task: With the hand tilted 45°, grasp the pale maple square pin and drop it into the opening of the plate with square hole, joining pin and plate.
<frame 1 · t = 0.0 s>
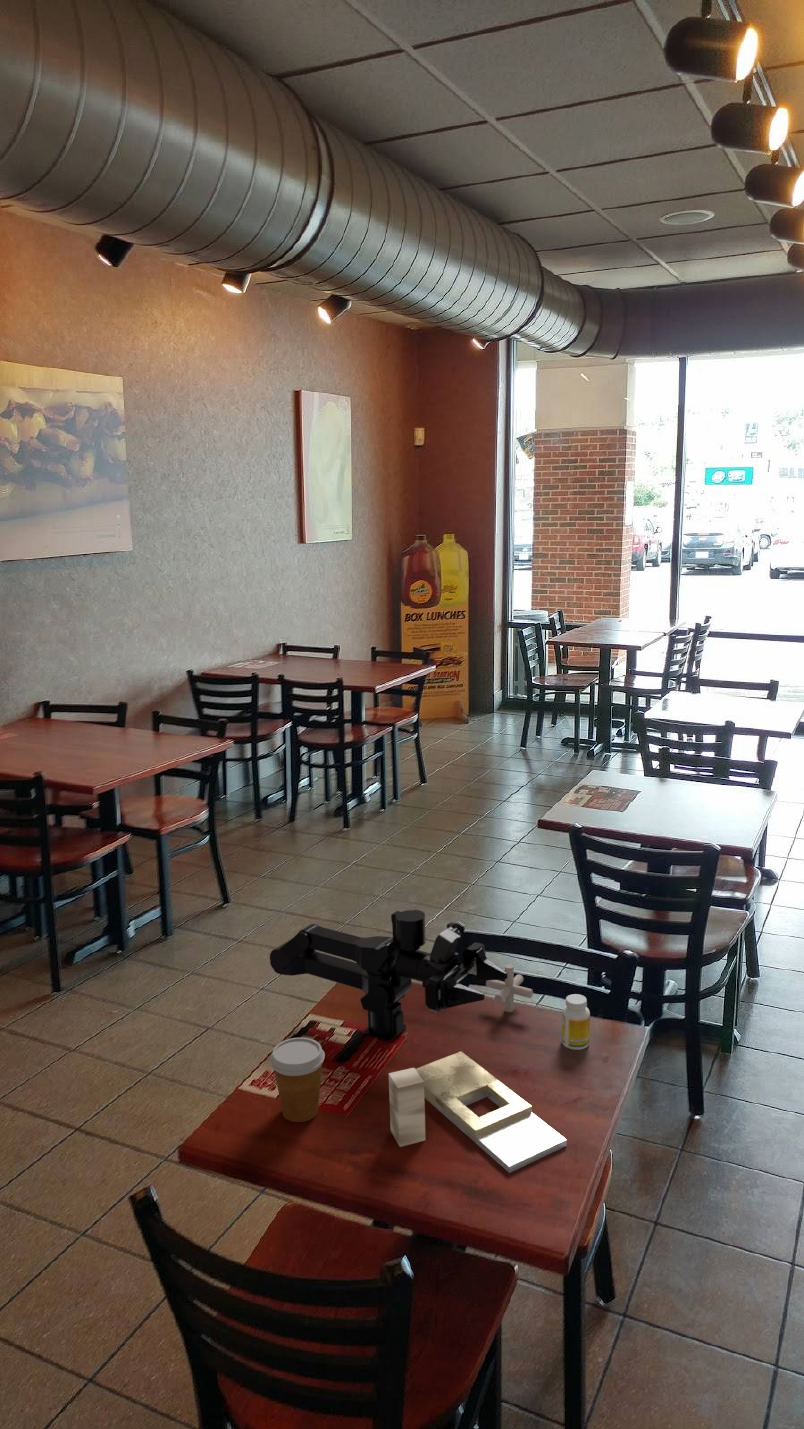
hand: (495, 986, 184), 17 cm above the table, tool horizontal, fingers open, 9 cm apart
pipe connector: (509, 1010, 208), on the table
disposable coffee cup: (300, 1112, 176), on the table
maple pin: (407, 1135, 168), on the table
plate with square hole: (483, 1112, 174), on the table
supplement bottle: (575, 1044, 195), on the table
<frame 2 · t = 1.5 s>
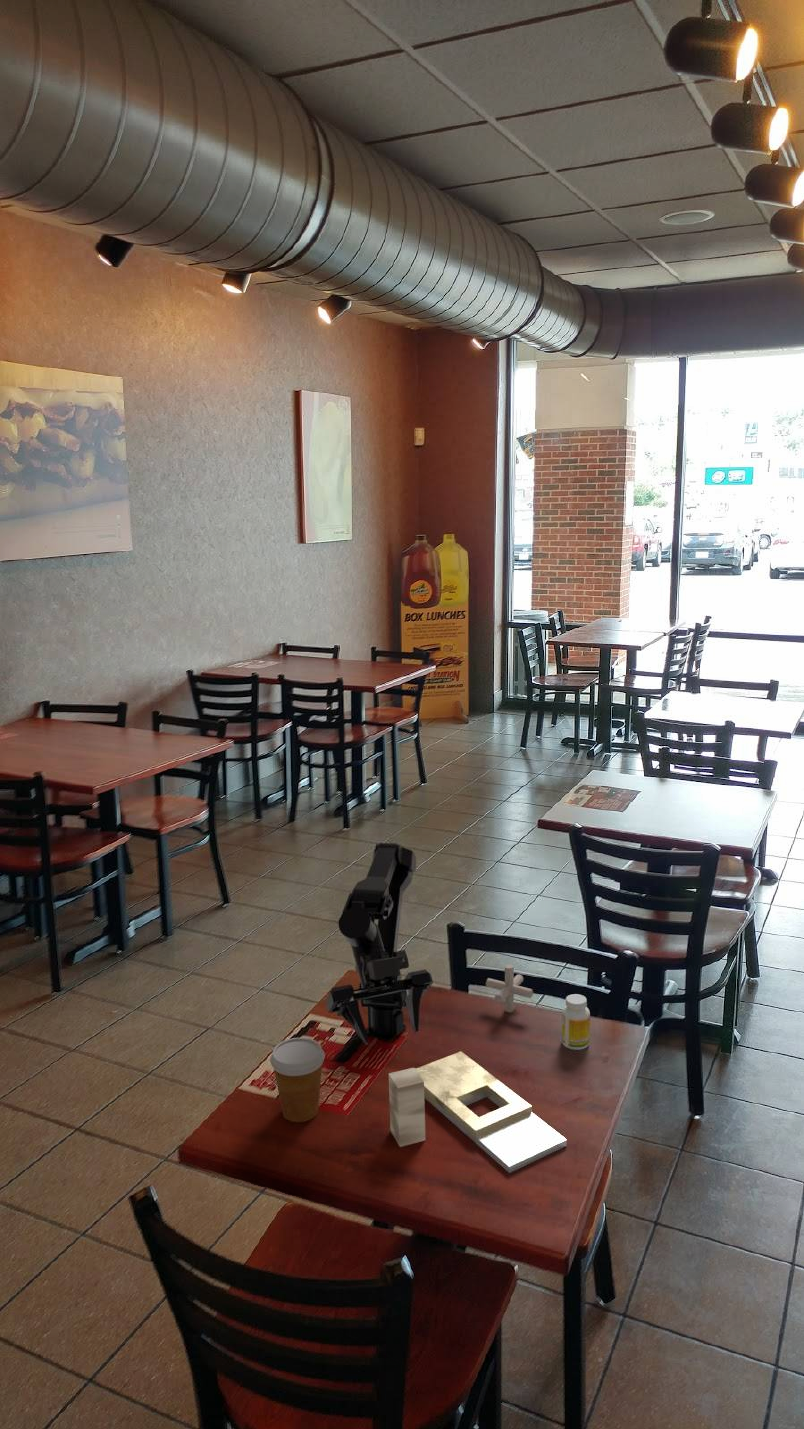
hand: (392, 1038, 173), 14 cm above the table, tool tilted 45°, fingers open, 9 cm apart
nothing on the table moved.
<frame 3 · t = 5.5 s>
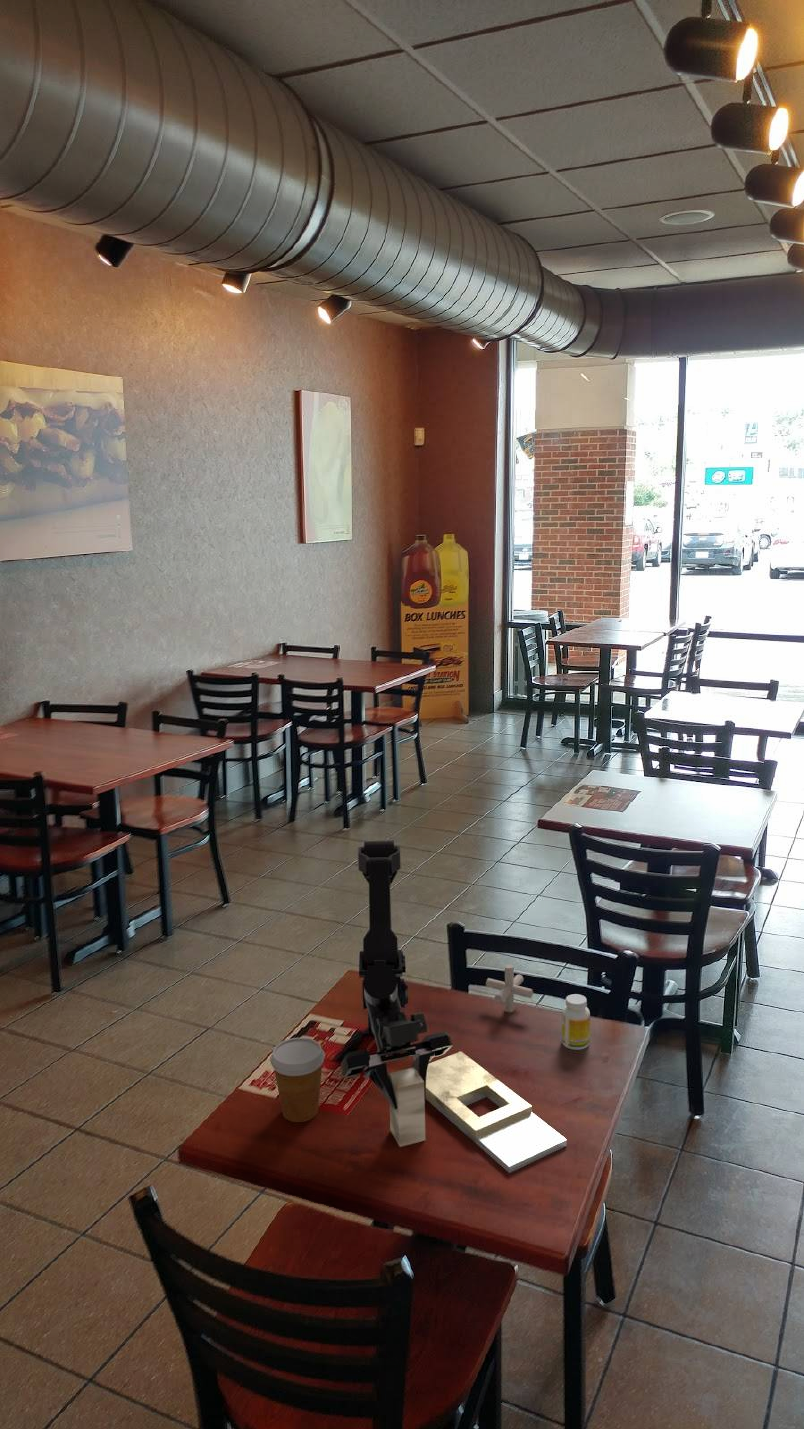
hand: (409, 1105, 165), 7 cm above the table, tool tilted 45°, fingers closed on maple pin, 5 cm apart
maple pin: (407, 1135, 168), on the table, touching gripper
everything else where it was.
when the fingers open (8 cm above the table, at t = 12.4 s): maple pin drops 1 cm, resting in plate with square hole.
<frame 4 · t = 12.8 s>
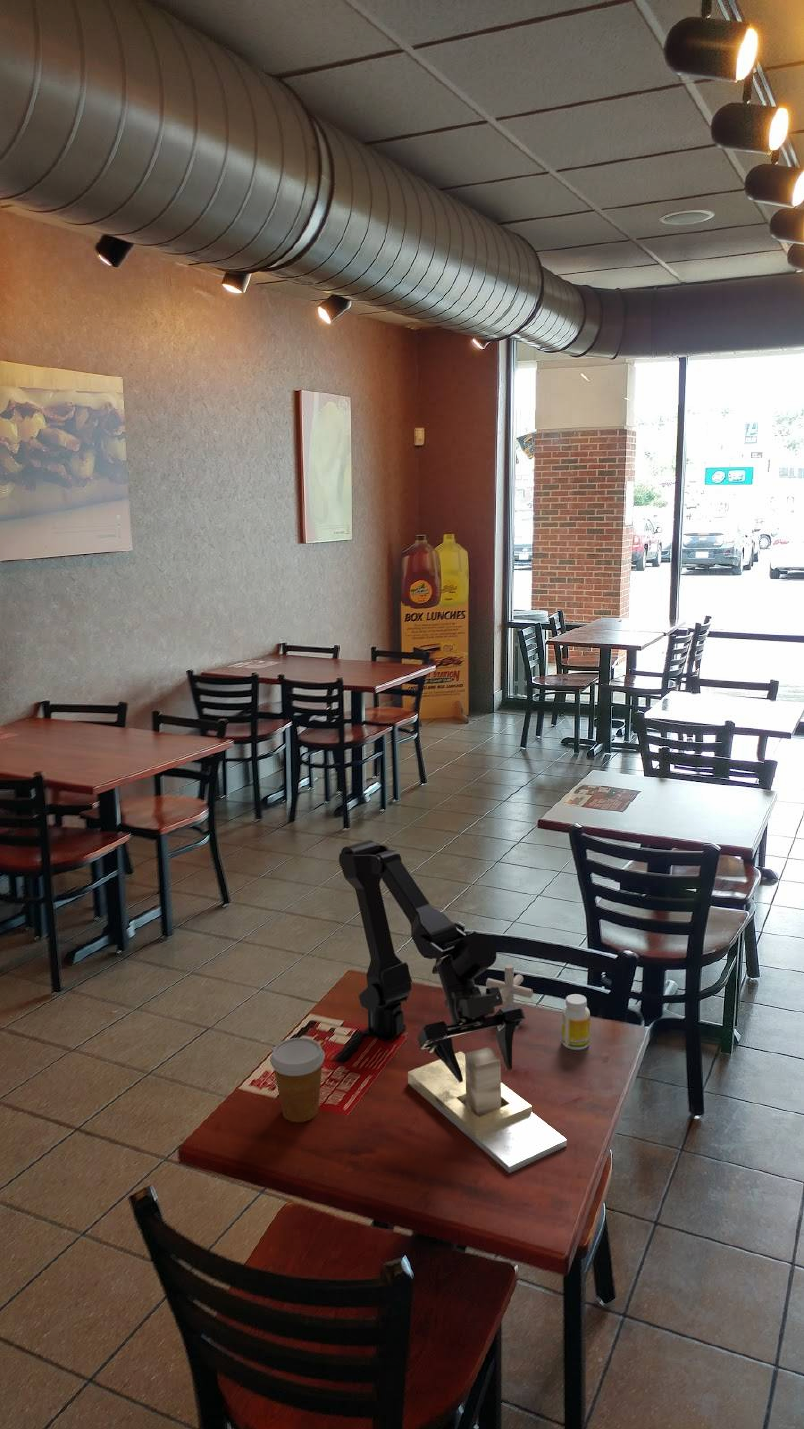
hand: (486, 1075, 171), 8 cm above the table, tool tilted 45°, fingers open, 9 cm apart
maple pin: (483, 1113, 174), resting in plate with square hole
everything else where it was.
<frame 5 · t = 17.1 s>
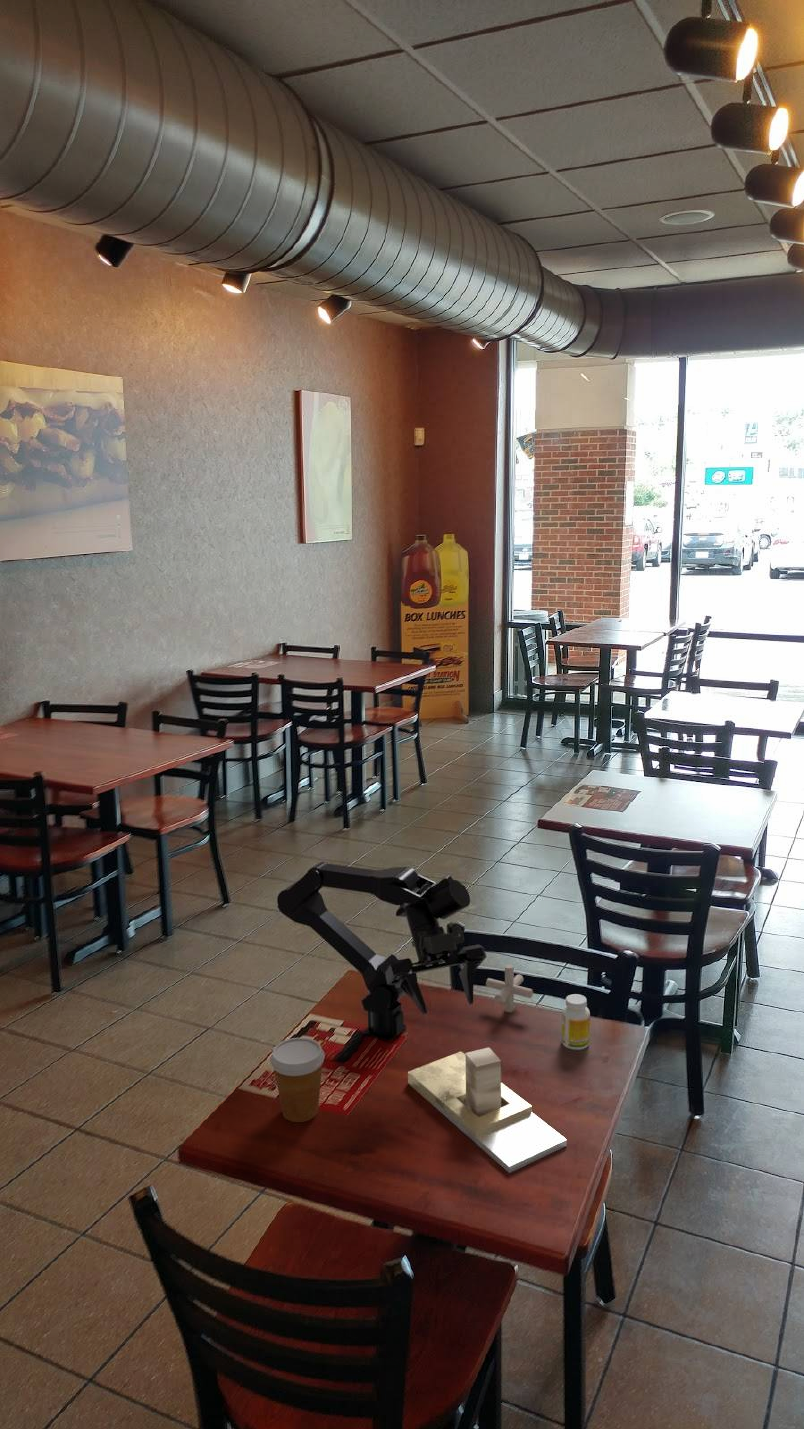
hand: (448, 1008, 182), 14 cm above the table, tool tilted 45°, fingers open, 9 cm apart
nothing on the table moved.
at the end: maple pin 0.1 cm off-centre on the plate with square hole, point 0.0 cm above the plate with square hole's base; maple pin tilted 0°; the gripper is holding nothing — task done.
